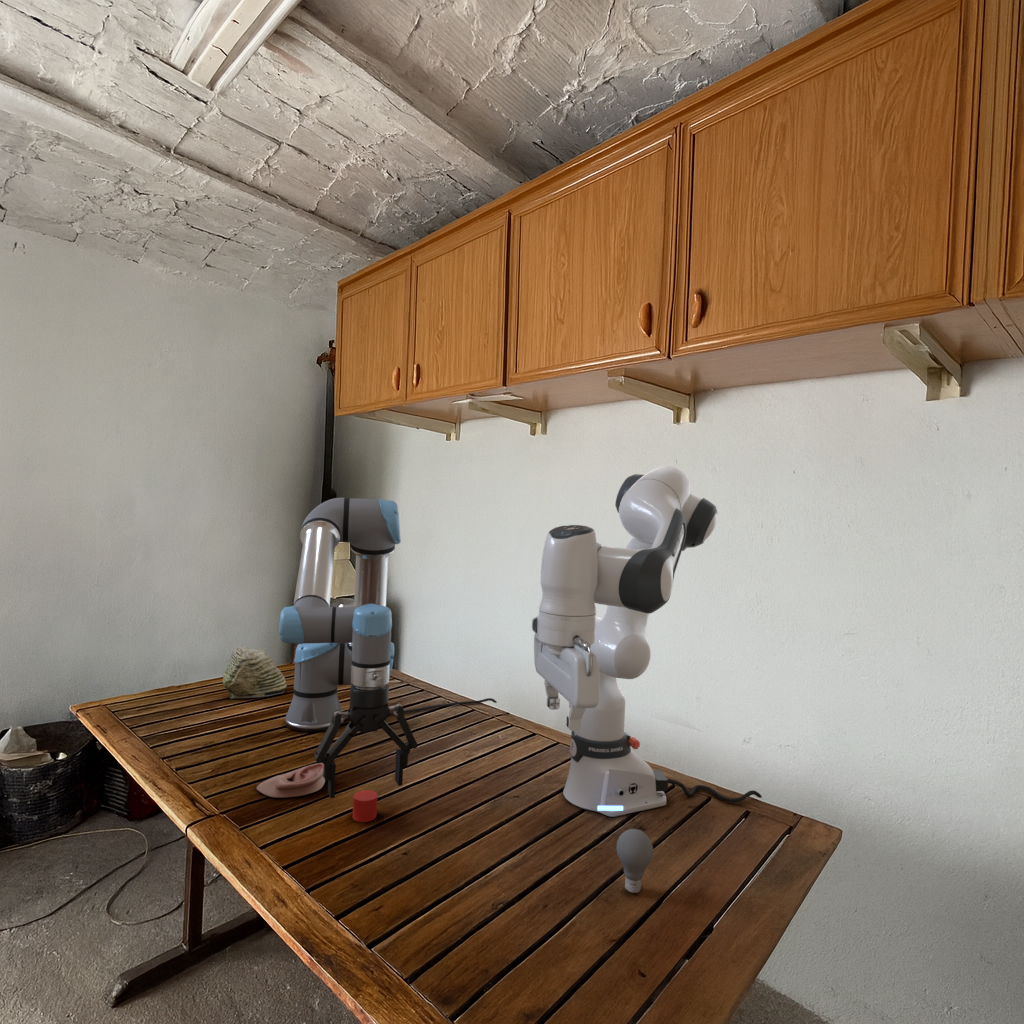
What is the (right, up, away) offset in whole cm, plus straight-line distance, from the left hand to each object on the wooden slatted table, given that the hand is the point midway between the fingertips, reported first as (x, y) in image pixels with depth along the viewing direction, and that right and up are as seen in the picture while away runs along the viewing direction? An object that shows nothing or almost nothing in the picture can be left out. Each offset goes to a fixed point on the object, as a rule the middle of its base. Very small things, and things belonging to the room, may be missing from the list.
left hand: (365, 788), depth 127 cm
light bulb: (+49, -8, -21) cm, 54 cm away
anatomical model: (-19, -4, +10) cm, 22 cm away
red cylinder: (0, -5, 0) cm, 5 cm away
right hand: (+37, +23, -28) cm, 52 cm away
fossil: (-51, -2, +71) cm, 88 cm away
